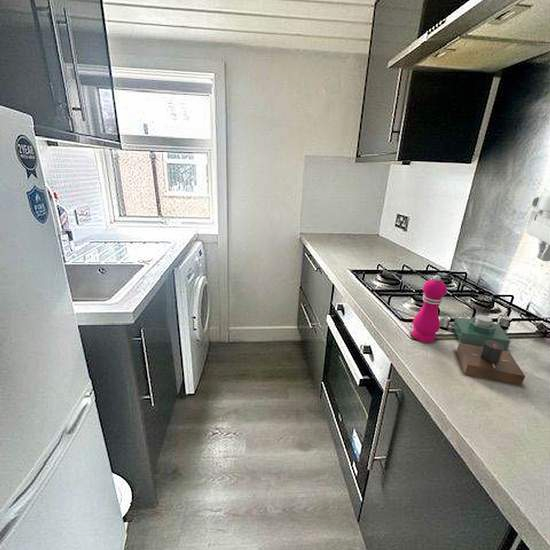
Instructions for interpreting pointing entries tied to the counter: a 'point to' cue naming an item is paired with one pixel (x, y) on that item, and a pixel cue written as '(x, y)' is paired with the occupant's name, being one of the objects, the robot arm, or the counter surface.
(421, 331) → the pepper mill
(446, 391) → the counter surface
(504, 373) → the lock base
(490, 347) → the lock dial
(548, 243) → the robot arm
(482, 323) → the pump
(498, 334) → the dispenser
